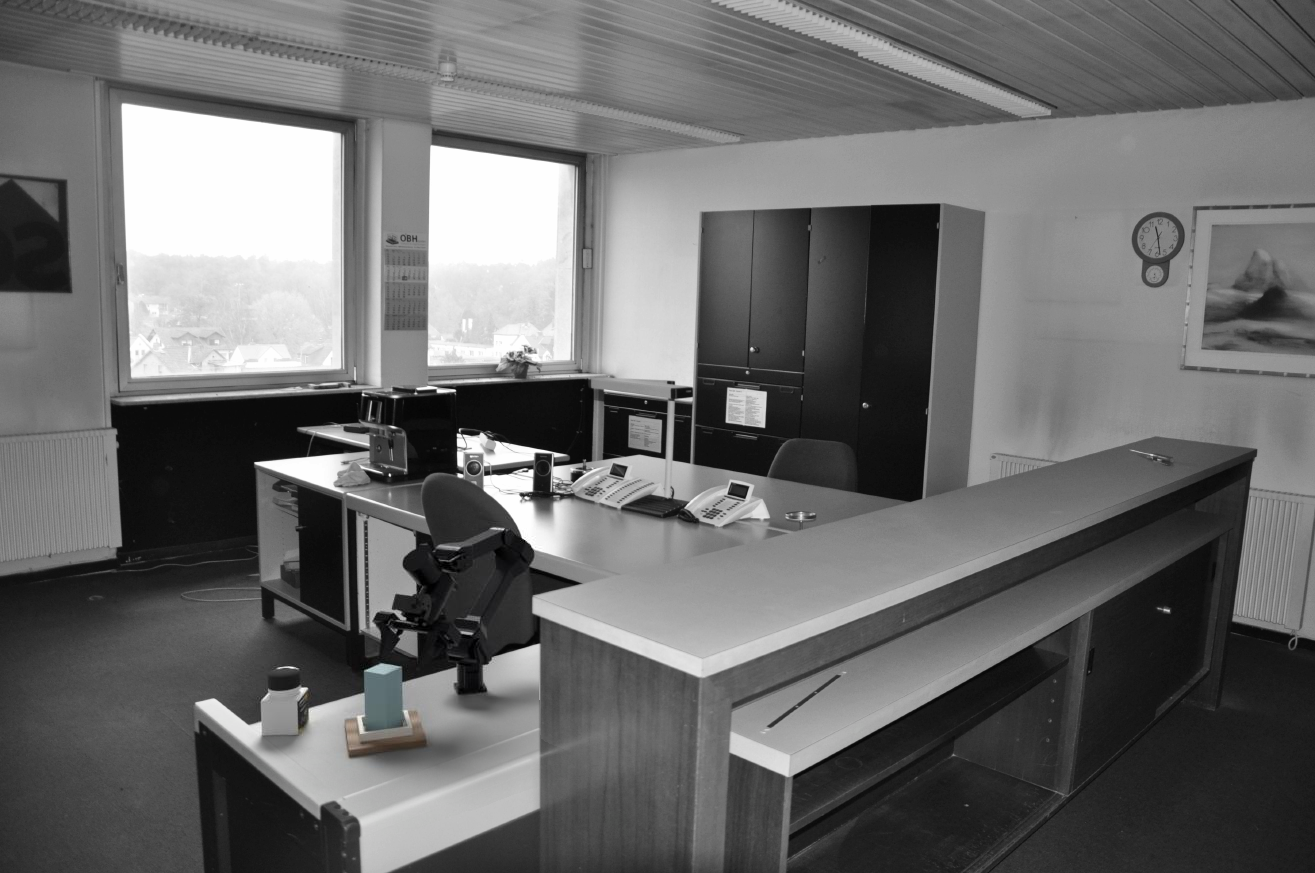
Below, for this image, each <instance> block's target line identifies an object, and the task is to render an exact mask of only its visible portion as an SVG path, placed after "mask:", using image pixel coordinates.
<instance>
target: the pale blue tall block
mask: <svg viewBox="0 0 1315 873" xmlns="http://www.w3.org/2000/svg"><path fill="white" fill-rule="evenodd" d="M363 684H364V685H363V686H364V715H365V732H368V731H376V730H383V729H391V728H399V727H403V710H404V706H403V704H404V703H403V699H404V698H403V667H402V666H399V665H393V664H389V663H388V664H387V663H384V662H383V663H381V664H380V663H379V664H376V665H374V666H372V667H369V668H368V669H367V668H366V669H364V671H363Z"/></svg>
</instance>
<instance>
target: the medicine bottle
mask: <svg viewBox="0 0 1315 873" xmlns="http://www.w3.org/2000/svg"><path fill="white" fill-rule="evenodd" d="M301 674H302V673H301V670H300V669H299V668H297V667H295V666H282V667H281V666H280V667H276V668H274V669H272V670H270V671H269V672H268V674H267V691H268V692H267V694H266V695H265V696H264V697H263V698H262V699H261V701H260V716H261V717H260V718H261V719H260V720H261V735H262V736H263V737H265V736H267V737H268V736H271V737H272V736H273V737H274V736H298V735H300V734H301V732H302V731H303V730H304V728H305V727H306V726H307V724H308V723H309V721H310V712H309V711H310V710H309V688H308V687H302V680H301V678H302V677H301V676H302V675H301Z"/></svg>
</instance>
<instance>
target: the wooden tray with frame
mask: <svg viewBox="0 0 1315 873" xmlns="http://www.w3.org/2000/svg"><path fill="white" fill-rule="evenodd" d="M344 729H345V735H346V736H345V737H346V742H347V744H346V745H347V751H348V757H354V756H356V757H357V756H362V755H363V756H364V755H369V754H370V755H371V754H375V753H376V754H377V753H385V752H391V751H397V750H406V749H412V748H419V747H420V748H421V747H425V746H426V747H427V746H428V745H427V744H428V743H427V737H426V734H425V731H424V728H423V726H422V722H421V720H420V717H419V713H418V711H417V709H414V710H408V709H403V727H399V728H391V729H383V730H376V731H368V732H365V714H363V715H357V716H355V717H349V718H344Z"/></svg>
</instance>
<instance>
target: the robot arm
mask: <svg viewBox="0 0 1315 873" xmlns="http://www.w3.org/2000/svg"><path fill="white" fill-rule="evenodd" d="M489 553H493V554H494V556H493V559H494V560H493V561H494V567H495V568H494V570H493V572H492V573H491V575H490V577H489V578H488V580H487V581H486V583H485V585H484V587H483V588H482V590H481V592H480V594H479V596H478V597H477V599H476V600H475V602H474V604H473V606H472V608H471V609H470V612H469V613H468V615H467V617H464V618H461V617H456V618H455V619H454V620H453V621H452V620H446V619H440V618H439V617H440V615H445V613H446V611H447V610H446V609H445V608H444V606H445V604H446V602H447V600H448V598H449V596H450V594H451V591H453V592H458V591H459V590H460V588H459V584H458V581H457V577H452V576H451V574H450V573H452V574H465V573H466V572H467V571H469V569H471V568H472V567H473V566H474V562H475V561H476V560H477V559H479V558H481V557H484V556H485V555H488V554H489ZM534 558H535V550H534V548H533V547H532V545H531V544H530V543H529V542H528V541H527V540H526V539H524V538H522V537H521V536H519V535H517V534H516V533H514V531H513V530H512V529H511V528H508V527H500V526H492V527H489V529H488V530H486V531H484V532H482V533H479V534H478V535H475V536H472V537H471V538H470V537H469V539H466V540H464V541H461V542H448V543H442V544H441V543H440V544H439V545H437V546H436V547H435V549H434V550H432V547H431V546H430V545H429V544H425V543H420V544H419V546H418V547H417V548H415V549H413V550H412V549H411V550H410V551H409V552H408V553H407V554H405V556H404V557H403V559H402V563H401V564H402V568H403V569H404V570H405V572H407V574H408V575H409V577H411V579H412V580H413V581H414V582H415V583H416V584H417V585H419V586H422V587H421V588H420V591H419V592H418V593H413V595H408V594H407V595H406V594H399V593H395V594H394V597H393V602H392V606H391V610H392V611H395V610H396V611H397V612H398V611H399V612H401V613H400V616H402V618H404V619H405V620H403V619H401V618H400V617H399V616H398V615H397V614H396V613H395V612H392V611H385V610H380V611H377V612H376V613H375V615H374V617H373V619H372V621H371V622H372V624H374V625H375V627H376V629H377V630H379V632H380V645H379V650H378V651H379V652H378V660H377V661H378V663H379V664H381V663H383V664H384V662H385V661H386V660H387V659H388V657H389V656H390V654H391V653H392V651H394V649H395V648H396V646H397V645H398V643H399V642H400V640H401V638H400V637H399V636H402V635H403V633H404V631H406V632H412V633H420V634H425V635H427V636H426V643H425V644H424V647H423V649H422V651H421V653H420V655H419V657H418V660H417V662H416V665H415V669H416V670H418V671H420V670H422V669H423V668H424V667H425V666H427V664H429V663H430V662H431V661H433V660H434V659H436V657H438V656H439V655H441V654H442V653H444V652H445V655H446V659H447V661H448V662H450V663H451V662H452V663H456V682H454V683H453V687H455V688H454V689H456V690H455V692H456V694H457V695H465V694H473V693H480V692H481V693H482V692H486V691H488V688H487V685H486V683H485V682H484V666H486V665H487V666H488V665H489V664H490V662H492V660H493V654H494V650H492V648H491V647H490V646H489V645H488V644H487V643H488V634H487V633H488V630H487V628H488V626H489V624H490V622H491V621H492V619H493V618H494V616H495V613H496V612H497V610H498V608H499V606H500V605H501V603H502V601H503V599H504V597H505V595H506V594H507V592H508V590H509V588H510V586H511V585H512V582H513V581H514V580H515V579H516V578H517V577H520V576H521V575H522V574H524V573H525V572H526V571H527V570H528V568H529V567H530V566H531V564H532V563H533V561H534V560H535V559H534Z"/></svg>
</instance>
